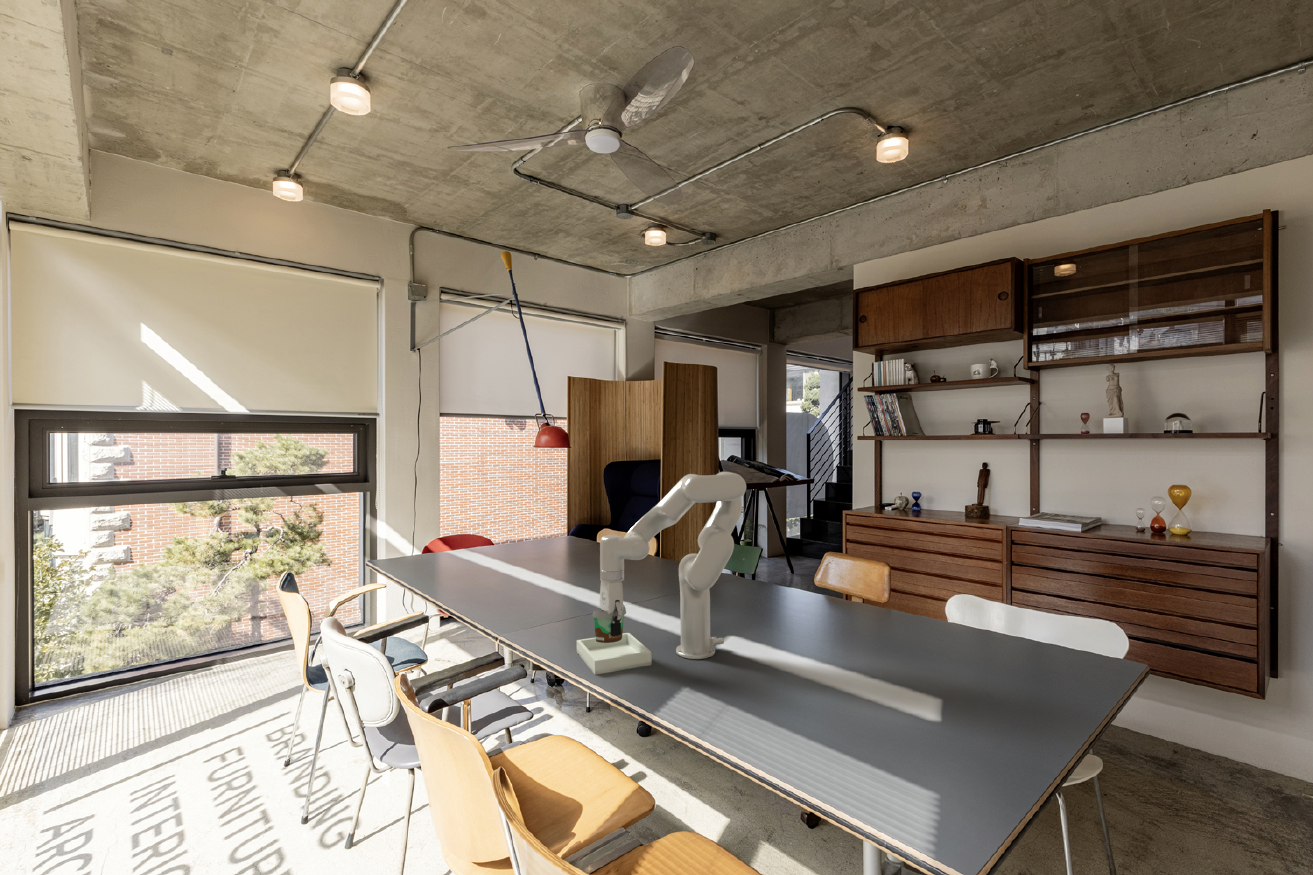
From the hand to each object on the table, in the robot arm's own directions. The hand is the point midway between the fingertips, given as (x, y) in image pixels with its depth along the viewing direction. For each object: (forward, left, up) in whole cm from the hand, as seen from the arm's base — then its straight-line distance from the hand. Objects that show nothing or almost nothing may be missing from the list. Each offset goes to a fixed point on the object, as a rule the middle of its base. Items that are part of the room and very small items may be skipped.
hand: (612, 631), depth 190 cm
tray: (0, 0, -9) cm, 9 cm away
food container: (0, +1, -3) cm, 3 cm away
